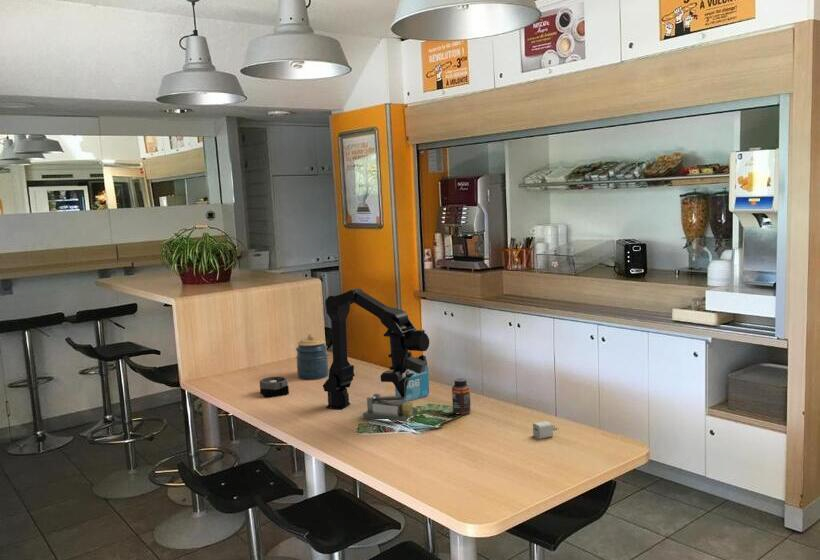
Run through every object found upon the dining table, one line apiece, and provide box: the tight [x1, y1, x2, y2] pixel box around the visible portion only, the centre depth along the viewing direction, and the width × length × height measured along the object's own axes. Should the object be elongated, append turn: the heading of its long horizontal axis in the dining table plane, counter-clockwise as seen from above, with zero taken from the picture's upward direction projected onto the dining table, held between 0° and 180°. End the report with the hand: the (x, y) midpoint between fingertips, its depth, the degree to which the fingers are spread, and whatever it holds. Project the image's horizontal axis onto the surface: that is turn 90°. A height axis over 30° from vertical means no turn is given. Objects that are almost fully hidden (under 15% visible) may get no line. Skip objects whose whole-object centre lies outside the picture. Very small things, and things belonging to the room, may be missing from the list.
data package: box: [394, 364, 430, 402], centre depth 255 cm, size 12×4×12 cm, turn 125°
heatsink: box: [362, 393, 418, 421], centre depth 235 cm, size 15×10×6 cm, turn 65°
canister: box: [295, 333, 330, 380], centre depth 292 cm, size 13×13×18 cm
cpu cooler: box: [259, 376, 290, 399], centre depth 269 cm, size 10×6×10 cm
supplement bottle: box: [451, 377, 472, 416], centre depth 236 cm, size 6×6×11 cm
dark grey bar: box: [371, 395, 407, 401], centre depth 235 cm, size 13×3×2 cm, turn 65°
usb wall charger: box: [532, 420, 559, 440], centre depth 211 cm, size 4×7×4 cm, turn 111°
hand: (403, 396), depth 232 cm, fingers closed, pressing on dark grey bar
